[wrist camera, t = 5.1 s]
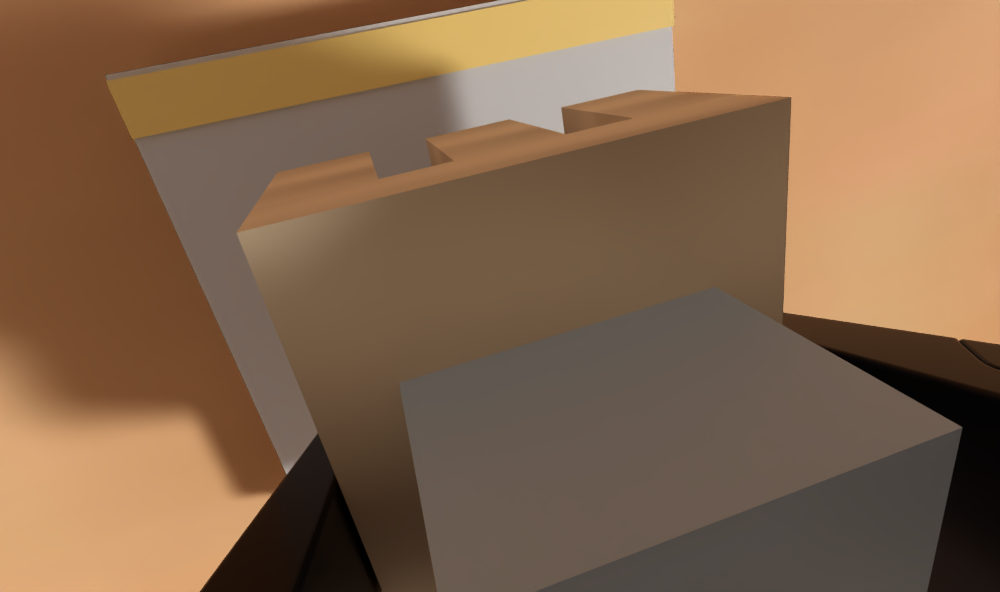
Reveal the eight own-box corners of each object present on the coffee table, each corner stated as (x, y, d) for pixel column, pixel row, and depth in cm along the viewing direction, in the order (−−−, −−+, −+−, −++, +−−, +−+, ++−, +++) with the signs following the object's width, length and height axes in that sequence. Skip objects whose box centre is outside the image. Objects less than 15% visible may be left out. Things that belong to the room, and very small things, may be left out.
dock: (615, -15, 14) (672, -33, 11) (648, 383, 19) (693, 427, 16) (149, 75, 12) (102, 75, 9) (325, 490, 17) (322, 557, 14)
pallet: (277, 172, 8) (236, 232, 5) (638, 89, 9) (791, 97, 6) (410, 544, 12) (435, 720, 8) (664, 454, 12) (772, 581, 9)
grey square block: (398, 382, 6) (443, 627, 3) (715, 286, 7) (963, 427, 4) (471, 615, 8) (540, 900, 5) (720, 519, 8) (897, 728, 6)
